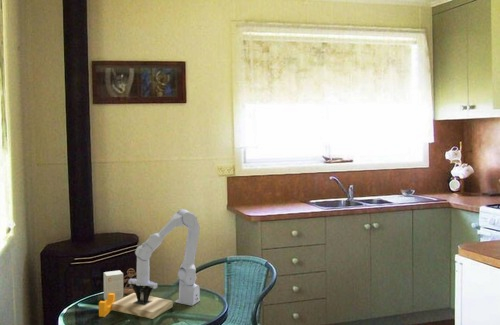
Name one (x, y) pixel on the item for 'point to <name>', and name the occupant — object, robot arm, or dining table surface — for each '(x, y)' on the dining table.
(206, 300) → the dining table surface
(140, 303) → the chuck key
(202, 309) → the dining table surface
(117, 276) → the small box
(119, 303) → the block
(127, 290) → the brown openwork frame
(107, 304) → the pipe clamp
